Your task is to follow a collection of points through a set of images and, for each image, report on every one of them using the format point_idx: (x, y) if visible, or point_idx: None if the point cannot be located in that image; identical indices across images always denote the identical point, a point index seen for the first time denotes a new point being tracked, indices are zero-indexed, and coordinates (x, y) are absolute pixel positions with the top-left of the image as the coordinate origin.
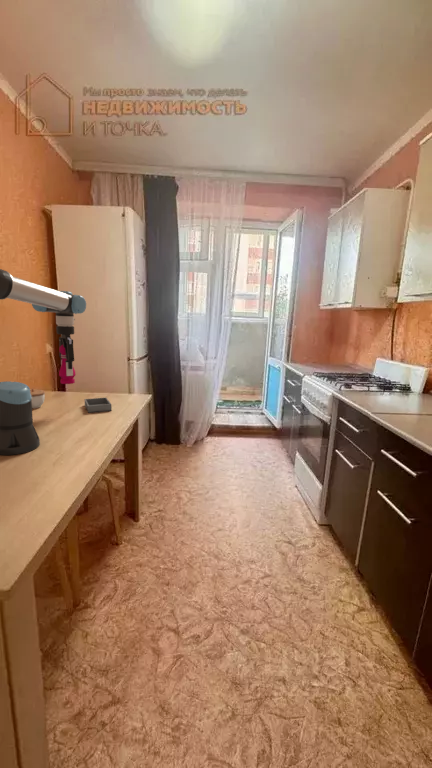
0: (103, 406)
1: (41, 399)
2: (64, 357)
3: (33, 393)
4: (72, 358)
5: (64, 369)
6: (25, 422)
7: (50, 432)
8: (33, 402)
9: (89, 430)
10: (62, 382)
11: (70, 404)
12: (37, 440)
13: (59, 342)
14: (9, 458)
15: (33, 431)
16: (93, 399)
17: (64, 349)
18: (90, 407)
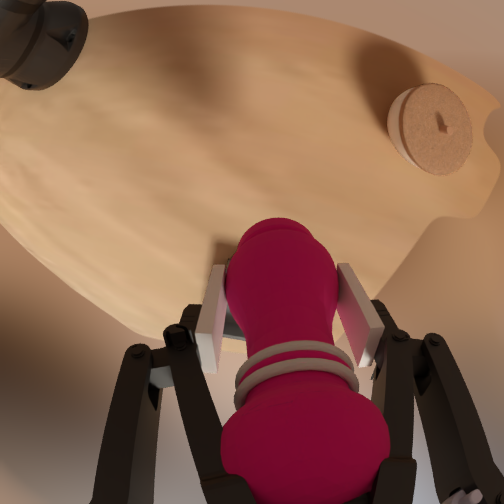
0: None
1: (396, 145)
2: (249, 364)
3: (415, 119)
4: (153, 390)
5: (243, 281)
6: None
7: (94, 112)
8: (389, 113)
9: (72, 210)
10: (257, 224)
11: (369, 241)
12: (20, 87)
13: (486, 462)
14: None
15: (8, 80)
16: None
17: (227, 451)
18: None
